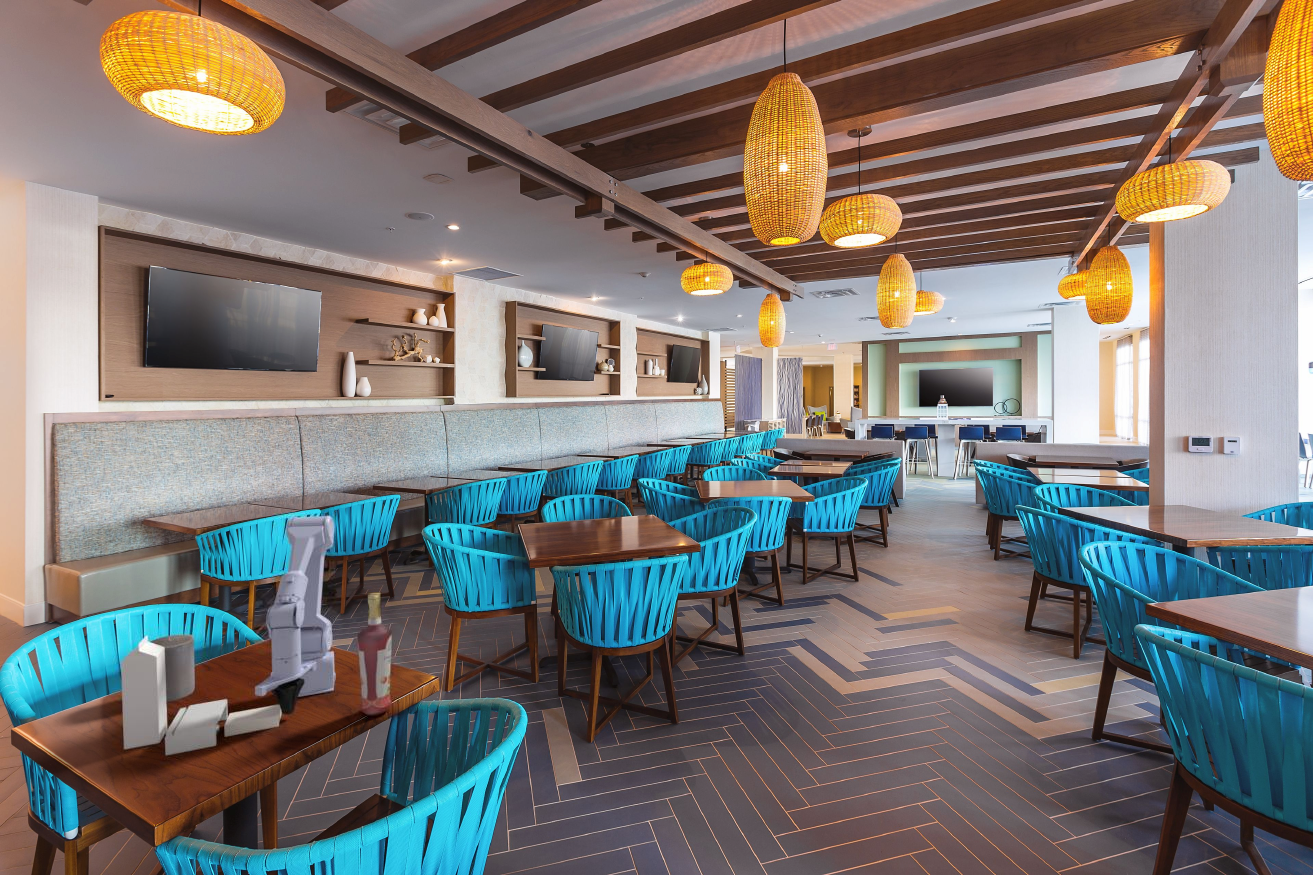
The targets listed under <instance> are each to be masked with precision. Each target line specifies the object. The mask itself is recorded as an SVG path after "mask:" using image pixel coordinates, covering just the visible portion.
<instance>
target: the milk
mask: <svg viewBox="0 0 1313 875" xmlns="http://www.w3.org/2000/svg"><path fill="white" fill-rule="evenodd" d="M148 638H149V636H148V635H146V636H145V637H143V639H141V641H140V642H139V643H138V645H137V647H136V648H135V649H132V650H130V652H129V653H127V655H126V656H125V657H124V658H123V659H122V660H121V661H120V669H121V670H120V671H121V673H120V674H121V697H122V698H121V699H122V700H121V701H122V725H123V727H122V728H123V730H122V731H123V750H129V749H135V748H140V747H144V746H146V747H147V746H152V745H156V744H160V743H161V741H162V739H163V738H164V737H165V735H166V732H167V730H168V712H167V710H168V709H167V707H168V706H167V702H166V674H165V647H163V646H160V645H157V644H154V643H151V642H150V641H149V639H148Z"/></svg>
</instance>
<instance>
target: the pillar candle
mask: <svg viewBox="0 0 1313 875" xmlns="http://www.w3.org/2000/svg"><path fill="white" fill-rule="evenodd" d="M194 640H195V637H194V636H193V635H192V634H173V635H172V634H171V635H167V636H166V635H165V636H162V637H159V638H155V639H153V640H150V641H149V642H151V643H154V644H157V645H160V646H163V647H165V674H166V703H171V702H174V701H178V700H181V699H183V698H187V697H188V696H189V695H191V694H193V692H194V691H195V688H196V687H195V686H196V685H195V684H196V682H195V680H196V678H195V648H194V647H195V645H194V644H195V641H194Z"/></svg>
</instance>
